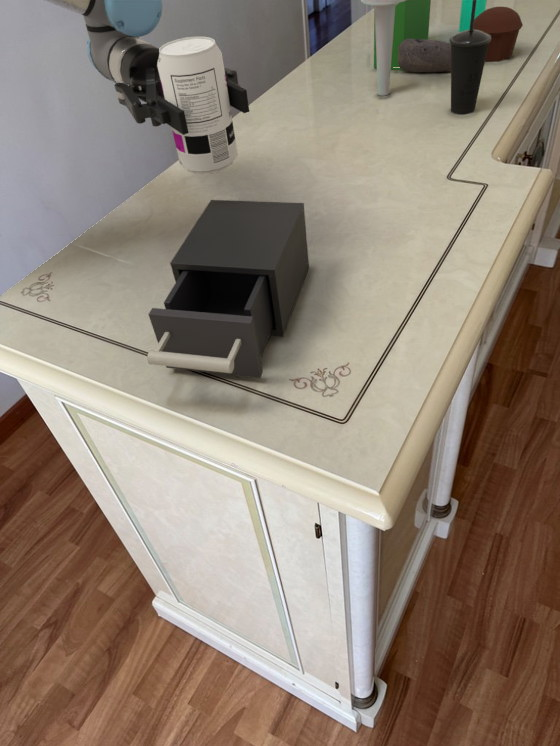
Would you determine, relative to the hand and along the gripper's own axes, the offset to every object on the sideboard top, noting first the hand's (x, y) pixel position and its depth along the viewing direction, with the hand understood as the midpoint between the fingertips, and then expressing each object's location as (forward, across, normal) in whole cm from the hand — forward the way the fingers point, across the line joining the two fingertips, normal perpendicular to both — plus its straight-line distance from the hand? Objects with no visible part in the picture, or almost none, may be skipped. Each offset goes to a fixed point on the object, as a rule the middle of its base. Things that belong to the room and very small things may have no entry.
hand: (215, 112), depth 74 cm
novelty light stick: (-38, -60, -24) cm, 74 cm away
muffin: (-36, -92, -24) cm, 102 cm away
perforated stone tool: (-40, -76, -24) cm, 89 cm away
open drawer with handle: (+15, +11, -23) cm, 30 cm away
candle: (-49, -98, -24) cm, 112 cm away
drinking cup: (-18, -65, -24) cm, 71 cm away
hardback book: (-53, -78, -24) cm, 97 cm away
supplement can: (-5, 0, -8) cm, 10 cm away
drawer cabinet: (+7, +3, -24) cm, 25 cm away
